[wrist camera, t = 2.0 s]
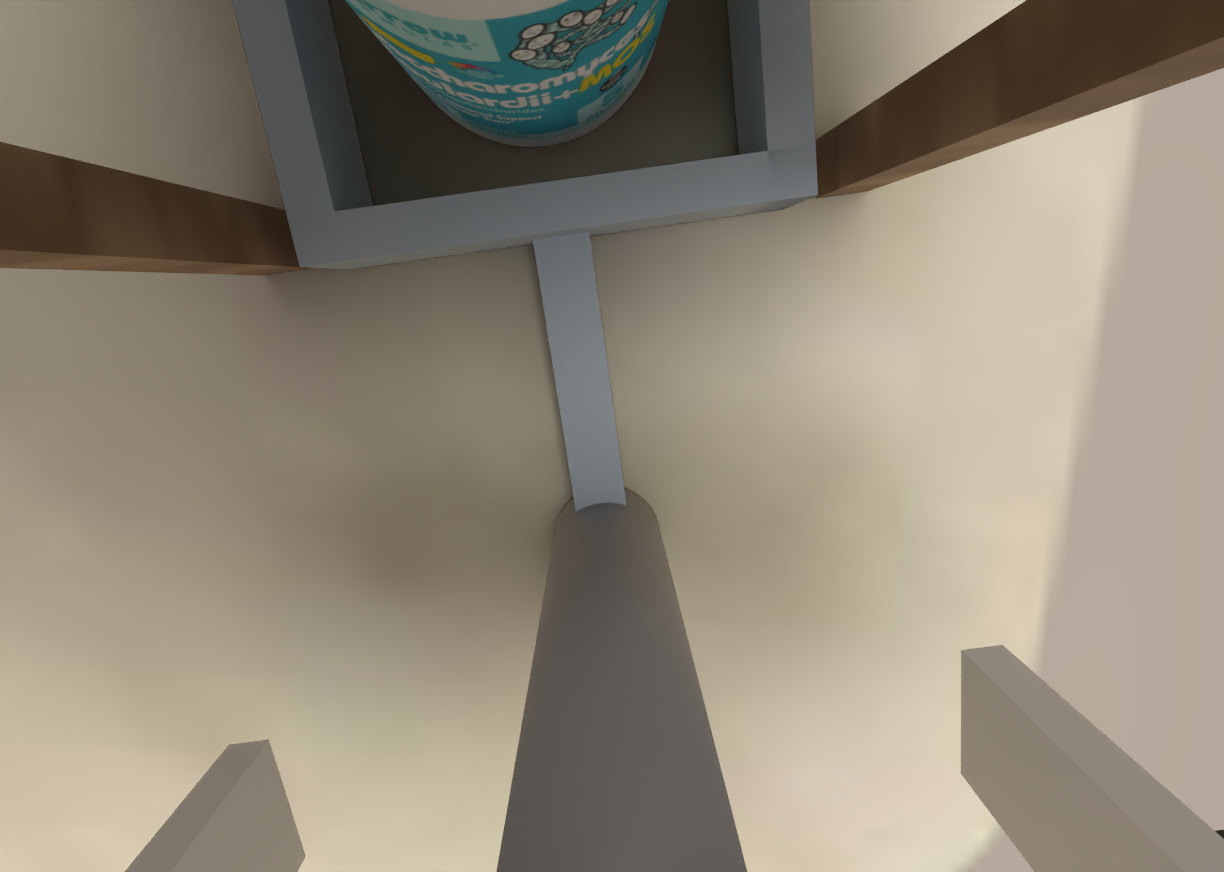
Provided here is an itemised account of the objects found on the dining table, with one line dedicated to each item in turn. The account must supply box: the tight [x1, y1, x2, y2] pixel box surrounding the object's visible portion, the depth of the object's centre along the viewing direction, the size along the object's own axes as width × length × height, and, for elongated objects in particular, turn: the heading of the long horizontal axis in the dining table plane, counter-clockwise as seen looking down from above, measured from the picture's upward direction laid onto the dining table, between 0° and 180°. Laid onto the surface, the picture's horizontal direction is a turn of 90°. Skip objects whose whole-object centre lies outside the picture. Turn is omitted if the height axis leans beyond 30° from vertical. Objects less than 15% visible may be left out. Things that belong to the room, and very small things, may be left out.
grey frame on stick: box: [232, 0, 818, 872], centre depth 12 cm, size 24×13×13 cm, turn 8°
